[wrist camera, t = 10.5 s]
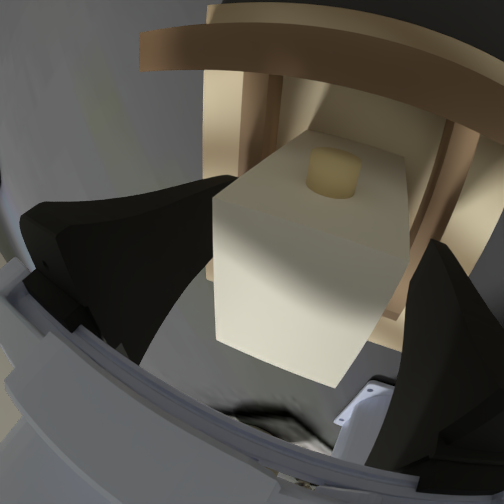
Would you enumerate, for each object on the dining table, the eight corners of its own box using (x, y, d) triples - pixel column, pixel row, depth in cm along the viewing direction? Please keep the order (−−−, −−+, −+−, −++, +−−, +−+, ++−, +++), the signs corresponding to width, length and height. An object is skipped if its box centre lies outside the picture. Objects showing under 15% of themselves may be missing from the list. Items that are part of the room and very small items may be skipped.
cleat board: (413, 342, 16) (403, 412, 12) (214, 270, 20) (170, 320, 16) (530, 82, 6) (593, 97, 2) (219, 8, 10) (141, -5, 6)
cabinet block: (370, 257, 13) (335, 388, 8) (291, 230, 14) (216, 340, 9) (408, 138, 9) (426, 225, 4) (310, 111, 10) (212, 161, 5)
